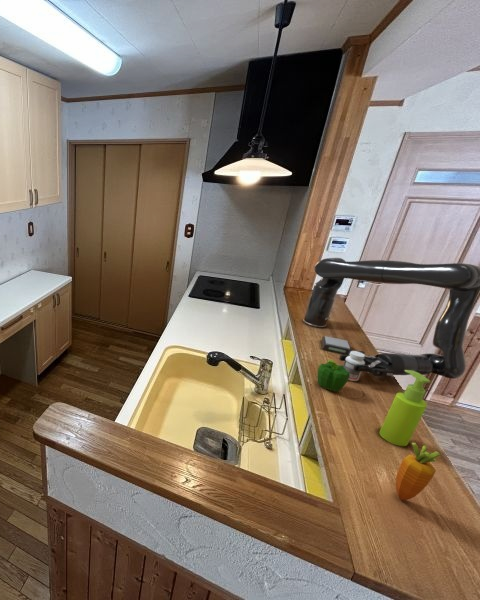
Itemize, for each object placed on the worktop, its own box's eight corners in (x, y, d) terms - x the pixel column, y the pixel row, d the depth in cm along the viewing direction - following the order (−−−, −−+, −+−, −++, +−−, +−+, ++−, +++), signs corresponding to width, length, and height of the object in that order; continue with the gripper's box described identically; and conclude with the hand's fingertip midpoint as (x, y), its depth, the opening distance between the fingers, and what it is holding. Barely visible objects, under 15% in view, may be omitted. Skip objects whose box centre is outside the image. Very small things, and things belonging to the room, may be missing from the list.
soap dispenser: (393, 428, 93) (420, 369, 86) (413, 447, 86) (445, 384, 79) (371, 426, 93) (396, 367, 86) (390, 445, 87) (419, 383, 80)
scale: (321, 341, 143) (323, 335, 141) (346, 346, 138) (348, 340, 137) (322, 349, 135) (324, 343, 134) (349, 355, 131) (352, 349, 130)
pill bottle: (344, 371, 120) (353, 348, 116) (361, 379, 115) (371, 355, 112) (336, 375, 118) (345, 351, 114) (353, 383, 113) (362, 359, 110)
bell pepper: (344, 386, 111) (354, 361, 107) (342, 397, 105) (351, 371, 102) (315, 376, 116) (323, 352, 113) (311, 386, 111) (320, 361, 107)
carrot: (380, 489, 74) (405, 439, 69) (399, 488, 75) (426, 438, 69) (402, 510, 70) (430, 458, 64) (422, 509, 70) (453, 457, 65)
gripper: (381, 345, 120) (336, 343, 120) (418, 366, 106) (367, 364, 106) (374, 362, 122) (330, 361, 123) (410, 385, 109) (359, 383, 109)
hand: (347, 362), depth 114 cm, fingers open, 6 cm apart
